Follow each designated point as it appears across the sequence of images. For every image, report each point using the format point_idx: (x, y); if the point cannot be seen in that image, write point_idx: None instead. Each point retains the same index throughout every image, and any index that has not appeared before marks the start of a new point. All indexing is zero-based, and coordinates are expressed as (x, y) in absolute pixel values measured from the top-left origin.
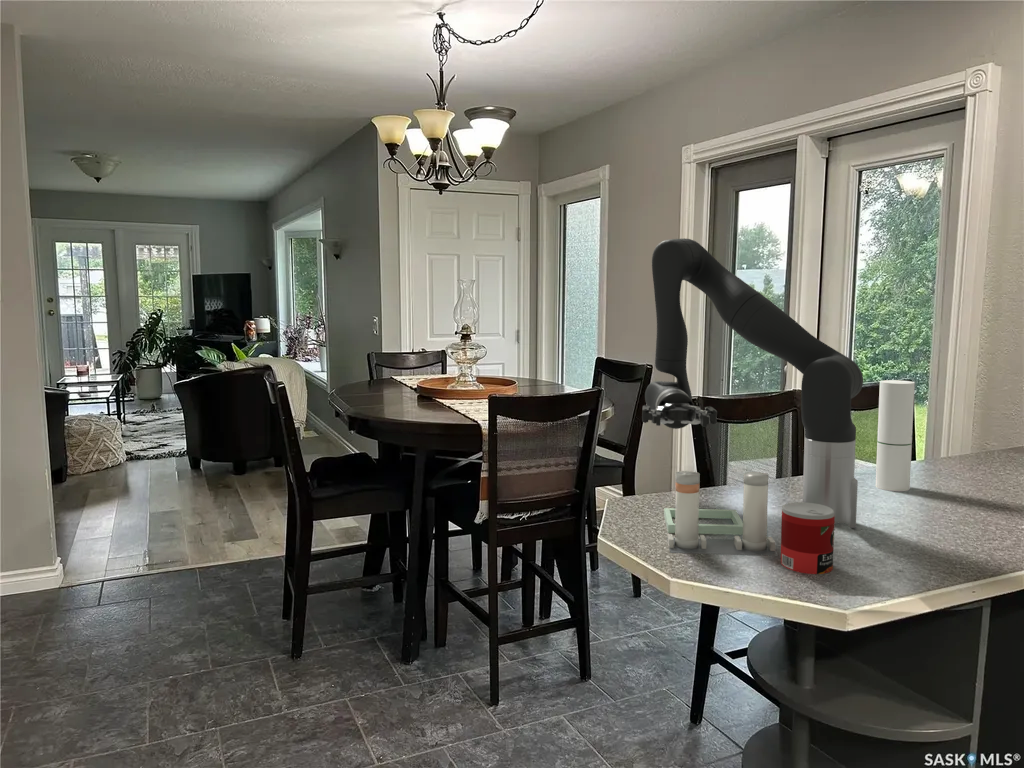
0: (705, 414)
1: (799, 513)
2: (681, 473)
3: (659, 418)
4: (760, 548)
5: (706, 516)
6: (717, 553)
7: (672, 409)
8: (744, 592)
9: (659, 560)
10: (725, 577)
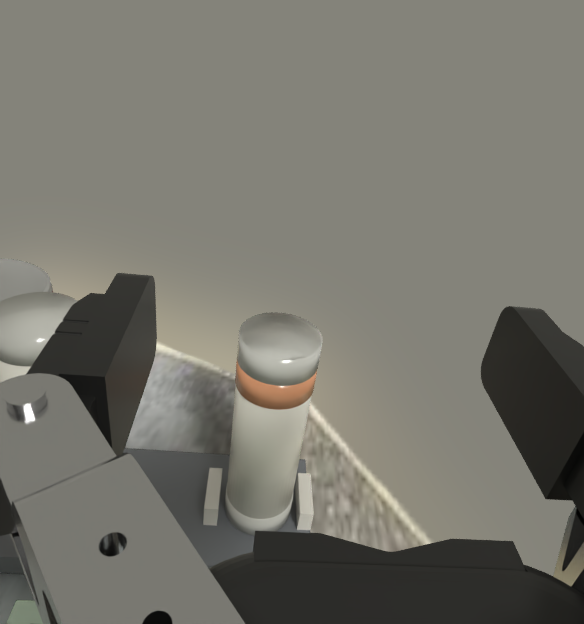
0: (111, 292)
1: (36, 266)
2: (302, 336)
3: (503, 325)
4: None
5: None
6: (188, 454)
7: (505, 583)
8: (183, 356)
9: (326, 478)
10: (196, 402)
